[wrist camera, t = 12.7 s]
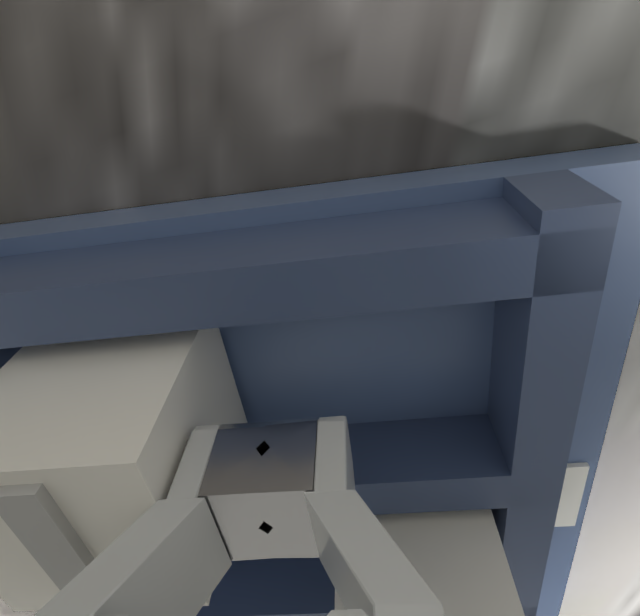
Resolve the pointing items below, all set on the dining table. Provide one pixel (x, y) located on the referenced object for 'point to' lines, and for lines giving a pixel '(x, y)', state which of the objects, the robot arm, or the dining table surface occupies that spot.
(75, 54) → the dining table surface
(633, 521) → the dining table surface
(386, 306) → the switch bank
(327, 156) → the dining table surface
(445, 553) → the white small carton
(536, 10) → the dining table surface
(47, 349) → the white striped block
